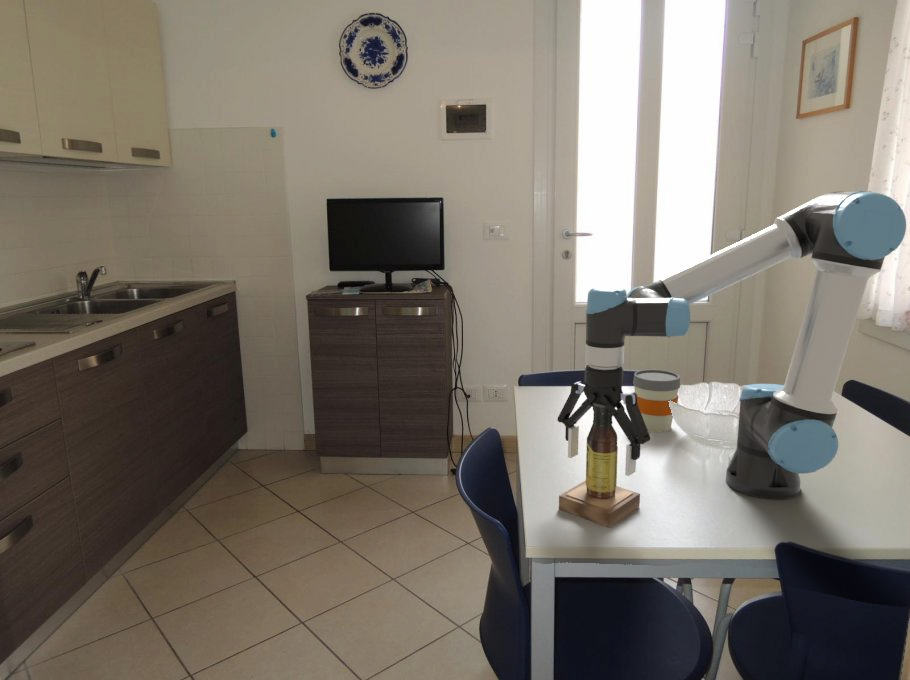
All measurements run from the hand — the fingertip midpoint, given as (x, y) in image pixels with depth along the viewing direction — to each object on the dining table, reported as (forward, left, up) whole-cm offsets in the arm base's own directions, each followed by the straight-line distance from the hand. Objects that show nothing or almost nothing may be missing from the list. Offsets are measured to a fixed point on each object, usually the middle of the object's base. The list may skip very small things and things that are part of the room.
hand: (600, 464), depth 138 cm
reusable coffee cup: (+15, -53, -10) cm, 56 cm away
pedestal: (0, 0, -10) cm, 10 cm away
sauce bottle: (0, 0, -7) cm, 7 cm away
